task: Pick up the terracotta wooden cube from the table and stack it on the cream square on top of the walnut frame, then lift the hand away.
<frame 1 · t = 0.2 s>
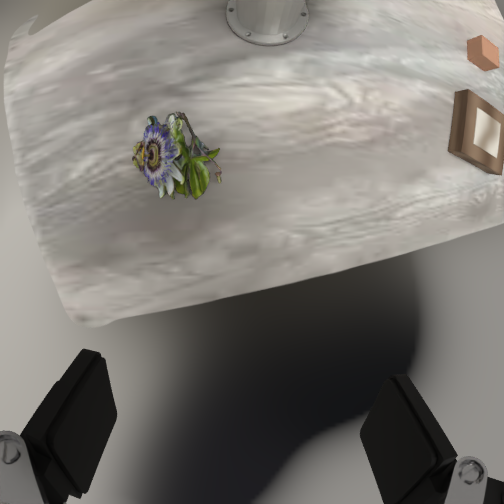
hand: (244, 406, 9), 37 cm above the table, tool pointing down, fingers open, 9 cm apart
terracotta cube: (475, 56, 35), on the table
walnut frame: (473, 133, 40), on the table
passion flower: (183, 155, 42), on the table
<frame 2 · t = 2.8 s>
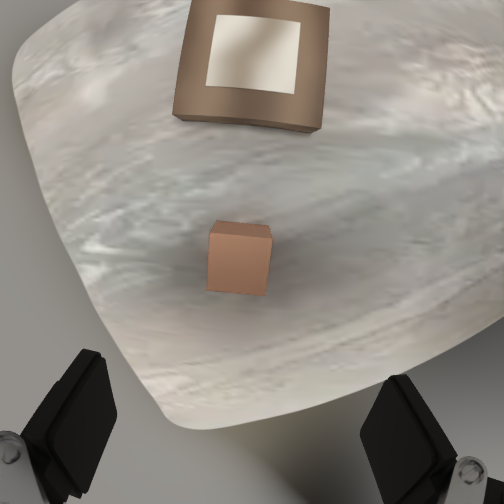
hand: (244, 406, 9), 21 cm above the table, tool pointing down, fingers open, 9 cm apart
terracotta cube: (240, 248, 29), on the table
walnut frame: (253, 65, 24), on the table
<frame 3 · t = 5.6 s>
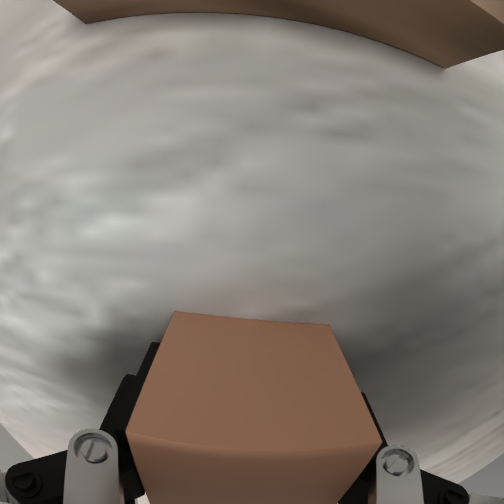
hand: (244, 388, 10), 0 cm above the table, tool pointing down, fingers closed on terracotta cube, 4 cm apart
terracotta cube: (245, 378, 10), on the table, touching gripper
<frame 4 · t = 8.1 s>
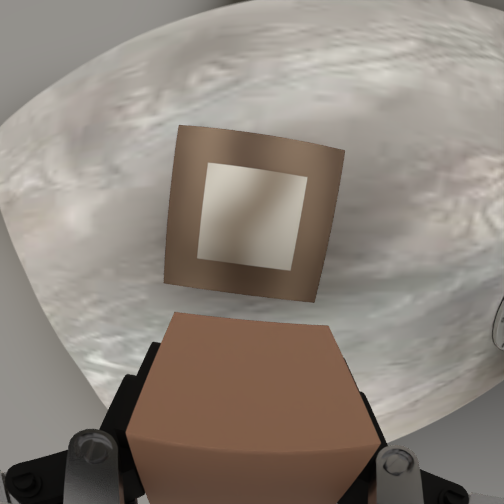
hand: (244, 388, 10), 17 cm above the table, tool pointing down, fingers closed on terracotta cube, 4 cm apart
terracotta cube: (244, 379, 10), point 17 cm above the table, touching gripper
walnut frame: (250, 209, 25), on the table
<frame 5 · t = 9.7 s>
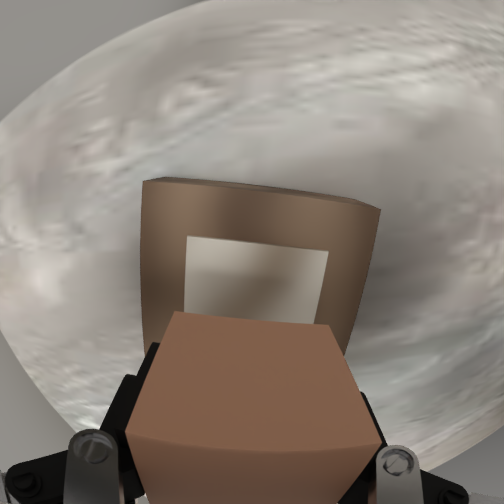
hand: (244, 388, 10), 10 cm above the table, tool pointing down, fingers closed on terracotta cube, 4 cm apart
terracotta cube: (244, 378, 10), point 10 cm above the table, touching gripper
walnut frame: (250, 278, 20), on the table
when the fingers open (6 cm above the table, at t = 11.0 s): terracotta cube stays where it is, resting on walnut frame.
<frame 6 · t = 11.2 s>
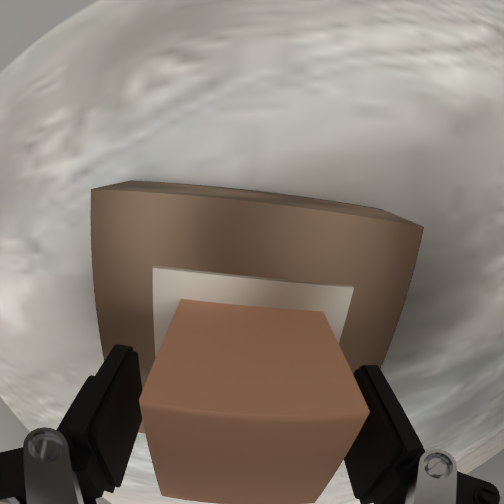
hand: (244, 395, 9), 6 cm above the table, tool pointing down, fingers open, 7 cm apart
terracotta cube: (245, 362, 11), point 4 cm above the table, touching walnut frame
walnut frame: (244, 311, 15), on the table
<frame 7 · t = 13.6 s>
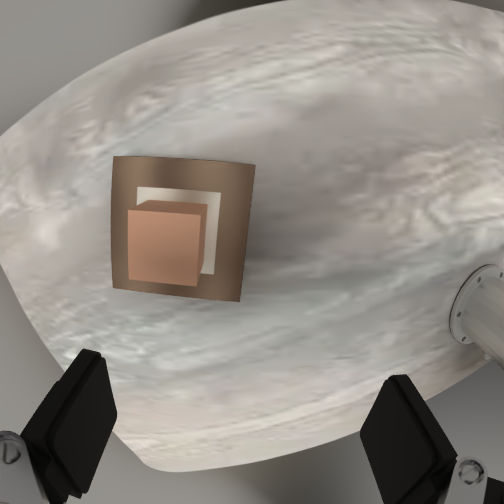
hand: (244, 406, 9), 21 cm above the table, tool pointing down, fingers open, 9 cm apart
terracotta cube: (175, 231, 24), point 4 cm above the table, touching walnut frame
walnut frame: (183, 221, 28), on the table
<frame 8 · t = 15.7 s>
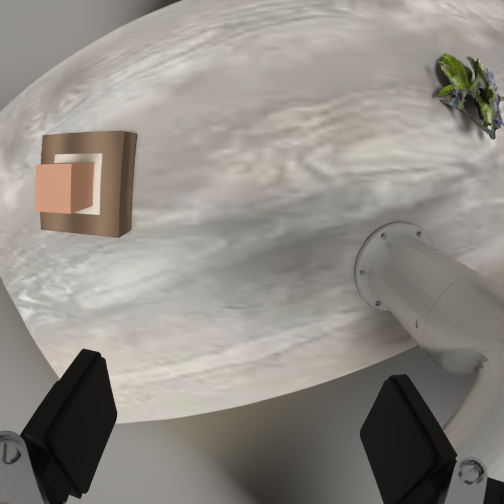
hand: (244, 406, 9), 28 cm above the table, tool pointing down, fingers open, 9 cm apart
terracotta cube: (75, 183, 30), point 4 cm above the table, touching walnut frame
walnut frame: (91, 180, 34), on the table
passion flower: (456, 98, 31), on the table
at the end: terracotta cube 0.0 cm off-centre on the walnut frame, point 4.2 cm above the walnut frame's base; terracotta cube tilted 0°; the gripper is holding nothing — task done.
